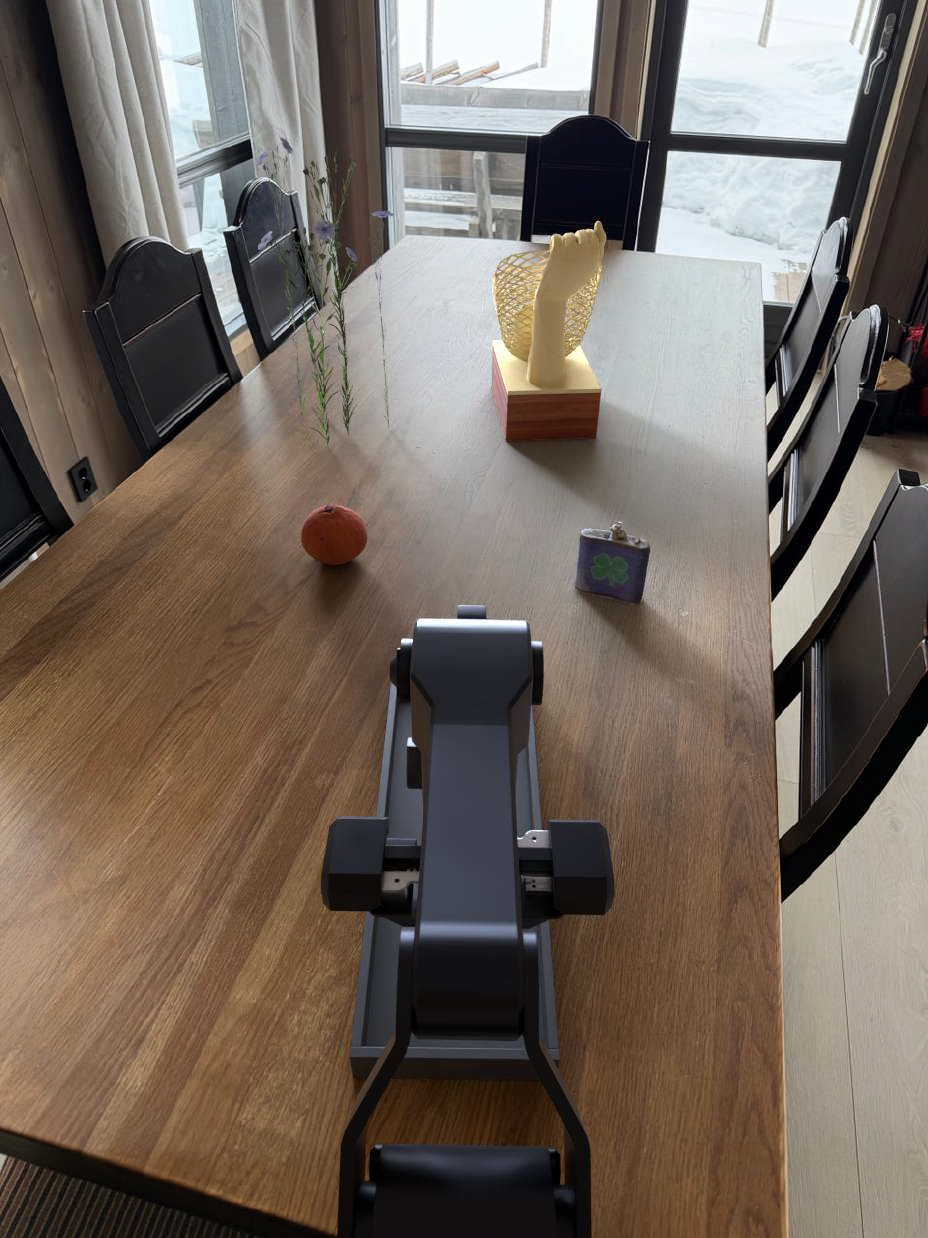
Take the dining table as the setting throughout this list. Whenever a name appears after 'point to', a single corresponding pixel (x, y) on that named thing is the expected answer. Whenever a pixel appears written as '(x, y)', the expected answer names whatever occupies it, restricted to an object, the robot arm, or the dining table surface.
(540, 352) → the raised fist statue
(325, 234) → the wildflower
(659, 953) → the dining table surface
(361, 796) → the dining table surface
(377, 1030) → the black tray
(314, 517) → the fruit
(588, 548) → the flask
